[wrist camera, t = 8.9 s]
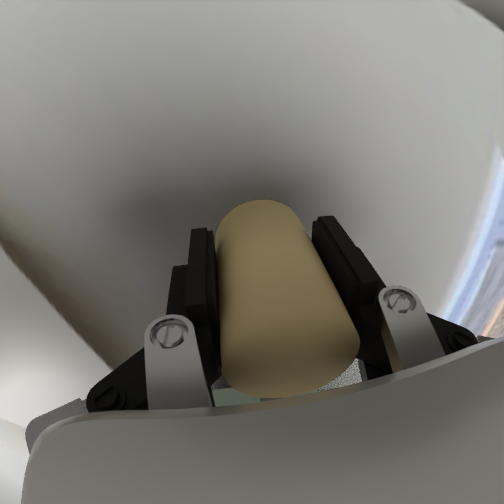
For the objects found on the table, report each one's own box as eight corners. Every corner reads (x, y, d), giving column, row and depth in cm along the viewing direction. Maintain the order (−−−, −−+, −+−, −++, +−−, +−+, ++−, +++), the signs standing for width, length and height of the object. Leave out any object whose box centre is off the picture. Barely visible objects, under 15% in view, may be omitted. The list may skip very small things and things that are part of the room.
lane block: (304, 416, 23) (320, 478, 18) (224, 427, 22) (231, 492, 17) (342, 190, 12) (430, 291, 6) (166, 206, 11) (134, 332, 6)
